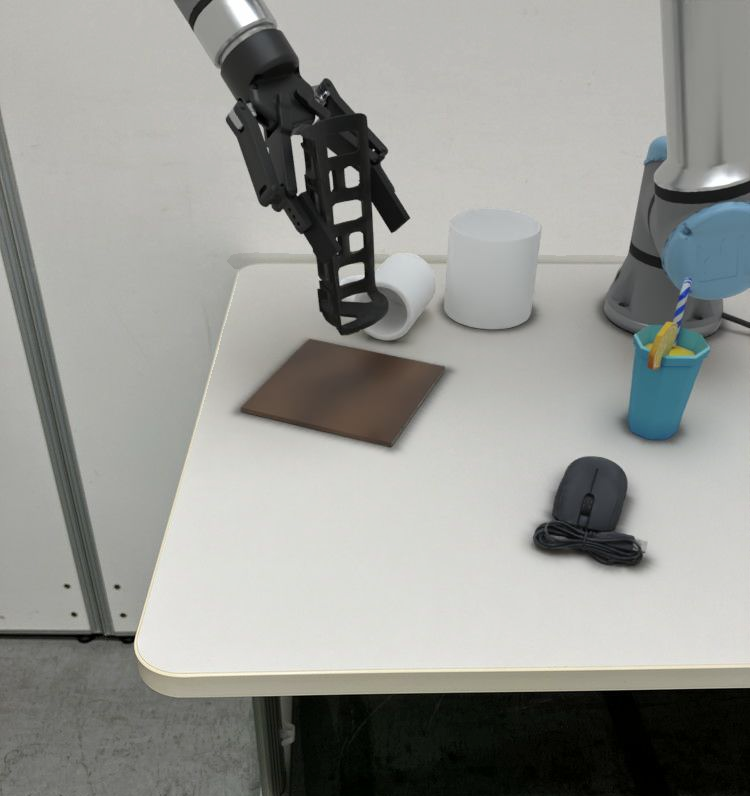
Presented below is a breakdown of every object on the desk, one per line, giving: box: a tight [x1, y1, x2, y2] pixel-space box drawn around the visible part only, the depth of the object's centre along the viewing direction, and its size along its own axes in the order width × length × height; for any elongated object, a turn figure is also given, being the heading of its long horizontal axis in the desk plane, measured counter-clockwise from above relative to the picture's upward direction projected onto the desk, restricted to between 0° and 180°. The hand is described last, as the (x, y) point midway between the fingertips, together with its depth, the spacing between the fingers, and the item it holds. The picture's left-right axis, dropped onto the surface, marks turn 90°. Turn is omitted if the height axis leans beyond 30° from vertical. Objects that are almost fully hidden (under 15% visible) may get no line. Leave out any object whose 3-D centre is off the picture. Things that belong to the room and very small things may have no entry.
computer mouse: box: [532, 455, 649, 566], centre depth 88 cm, size 10×15×4 cm
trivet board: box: [240, 338, 446, 448], centre depth 107 cm, size 18×18×1 cm
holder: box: [300, 112, 389, 337], centre depth 95 cm, size 11×8×20 cm
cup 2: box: [626, 277, 711, 441], centre depth 98 cm, size 14×8×15 cm, turn 158°
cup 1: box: [443, 207, 543, 330], centre depth 121 cm, size 12×12×12 cm
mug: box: [339, 252, 437, 341], centre depth 119 cm, size 12×10×8 cm
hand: (367, 240), depth 94 cm, fingers closed on holder, 10 cm apart
